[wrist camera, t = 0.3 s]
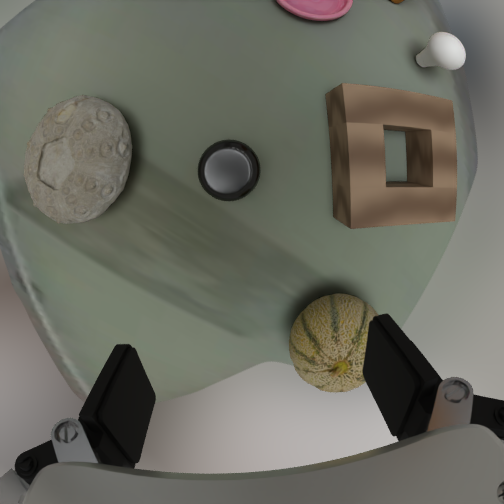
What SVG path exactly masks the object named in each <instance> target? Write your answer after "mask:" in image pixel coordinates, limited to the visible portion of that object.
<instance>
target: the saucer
mask: <svg viewBox="0 0 504 504" xmlns="http://www.w3.org/2000/svg"><path fill="white" fill-rule="evenodd" d="M276 1H277V2H278V3H279V4H280V5H281V6H282V7H283V8H284V9H286V10H287V11H289V12H291V13H293V14H295V15H297V16H299V17H302V18H305V19H310V20H316V21H329V20H334V19H337V18H339V17H341V16H343V15H345V14H346V13H347V12H348V11H349V9H350V8H351V6H352V3H353V0H276Z"/></svg>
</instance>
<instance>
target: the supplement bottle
mask: <svg viewBox="0 0 504 504" xmlns="http://www.w3.org/2000/svg"><path fill="white" fill-rule="evenodd" d="M198 177H199V181H200V183H201V185H202V187H203V188H204V190H205V191H206V192H207V193H208V194H209V195H211V196H212V197H214V198H216V199H218V200H222V201H235V200H239V199H242V198H244V197H245V196H247V195H248V194H250V193H251V192H252V191H253V189H254V188H255V187H256V185H257V183H258V181H259V177H260V163H259V160H258V157H257V155H256V154H255V152H254V151H253V150H252V149H251V148H250V147H249V146H248V145H246V144H244V143H242V142H240V141H236V140H222V141H219V142H216V143H214V144H213V145H211V146H210V147H208V148H207V149H206V150H205V152H204V153H203V154H202V156H201V158H200V161H199V164H198Z"/></svg>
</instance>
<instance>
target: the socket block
mask: <svg viewBox="0 0 504 504" xmlns="http://www.w3.org/2000/svg"><path fill="white" fill-rule="evenodd" d="M325 95H326V104H327V114H328V124H329V136H330V150H331V166H332V186H333V217H334V218H336V219H337V220H339V221H340V222H342V223H343V224H344V225H346V226H347V227H349V228H350V229H355V228H368V227H380V226H393V225H407V224H421V223H435V222H450V221H455V214H456V196H457V151H456V133H455V121H454V111H453V103H452V101H451V100H447V99H443V98H439V97H435V96H430V95H425V94H420V93H415V92H410V91H404V90H398V89H392V88H385V87H377V86H368V85H359V84H347V83H342V84H340V85H339V86H337V87H336V88H334V89H333V90H331V91H330V92H328V93H327V94H325ZM383 130H393V131H404V132H405V135H406V152H407V182H386V167H385V145H384V131H383Z"/></svg>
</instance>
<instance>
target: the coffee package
mask: <svg viewBox="0 0 504 504" xmlns="http://www.w3.org/2000/svg"><path fill="white" fill-rule="evenodd" d="M391 1H392V2H394V3H396V4H398V3H400V2H402V1H404V0H391Z"/></svg>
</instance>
